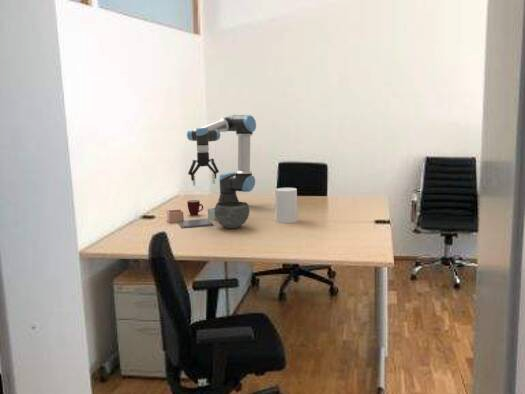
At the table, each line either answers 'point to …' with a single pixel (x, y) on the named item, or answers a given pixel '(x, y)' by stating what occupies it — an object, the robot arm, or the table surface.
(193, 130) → the robot arm
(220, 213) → the bowl
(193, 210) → the mug
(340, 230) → the table surface
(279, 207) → the canister
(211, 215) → the sage open box
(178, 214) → the tan open box
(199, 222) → the slate board
